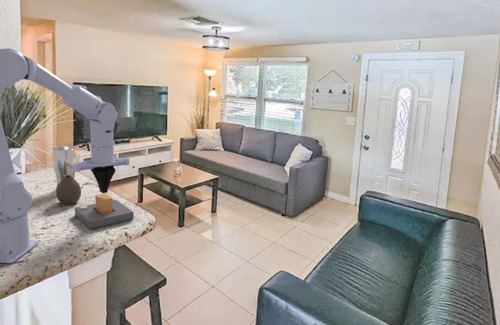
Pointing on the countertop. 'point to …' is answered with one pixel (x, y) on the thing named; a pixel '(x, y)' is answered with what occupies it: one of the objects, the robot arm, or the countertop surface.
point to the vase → (68, 190)
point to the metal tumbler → (64, 161)
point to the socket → (103, 215)
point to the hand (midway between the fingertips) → (103, 192)
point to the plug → (104, 204)
